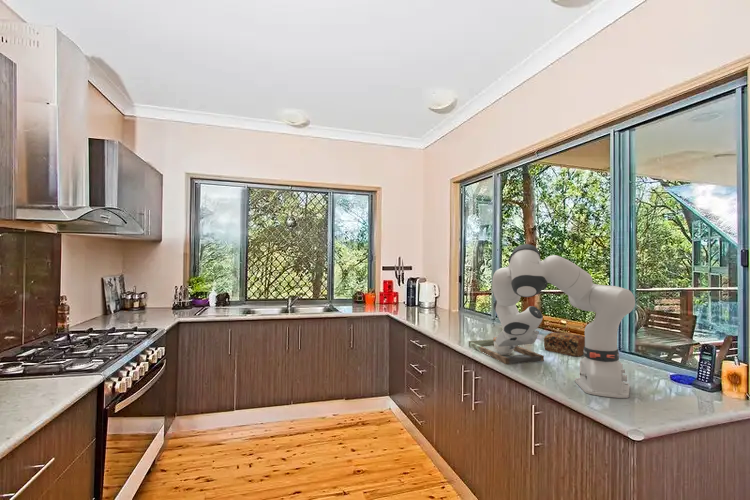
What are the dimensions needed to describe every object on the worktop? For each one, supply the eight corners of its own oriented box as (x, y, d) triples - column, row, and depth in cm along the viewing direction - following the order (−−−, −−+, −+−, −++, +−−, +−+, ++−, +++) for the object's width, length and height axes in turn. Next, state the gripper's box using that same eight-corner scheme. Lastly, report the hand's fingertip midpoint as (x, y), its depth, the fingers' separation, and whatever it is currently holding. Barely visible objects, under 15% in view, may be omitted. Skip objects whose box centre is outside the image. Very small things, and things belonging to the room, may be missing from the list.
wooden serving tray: (543, 361, 188) (543, 354, 188) (506, 364, 183) (506, 357, 183) (500, 344, 225) (500, 338, 225) (468, 346, 220) (468, 341, 220)
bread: (588, 354, 199) (588, 335, 200) (576, 357, 194) (576, 337, 194) (554, 347, 215) (554, 329, 215) (542, 350, 209) (542, 331, 209)
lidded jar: (489, 352, 206) (489, 334, 207) (506, 350, 210) (506, 332, 210) (501, 357, 196) (501, 338, 196) (519, 355, 199) (519, 336, 200)
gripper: (537, 325, 192) (525, 341, 202) (500, 327, 188) (489, 343, 197) (543, 336, 188) (531, 351, 197) (505, 338, 183) (494, 354, 192)
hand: (510, 347), depth 197 cm, fingers closed
